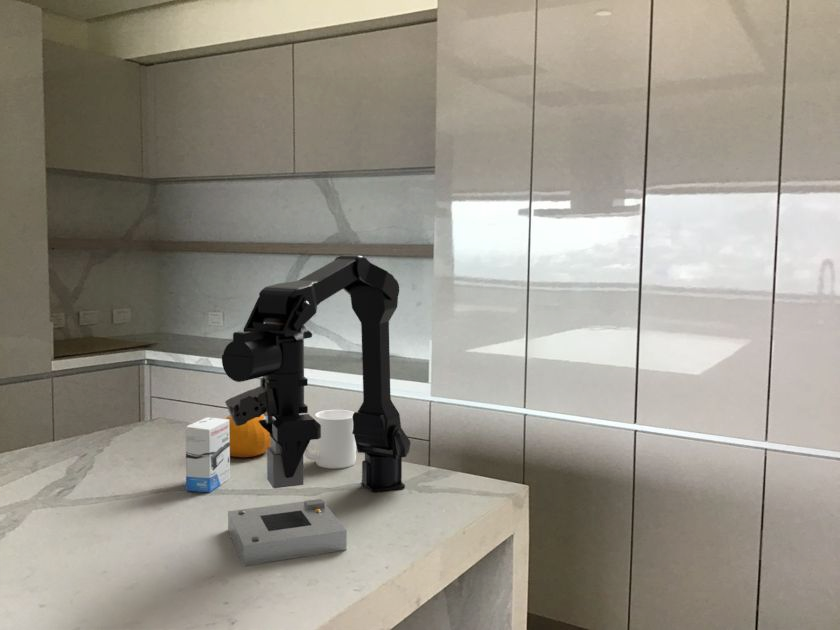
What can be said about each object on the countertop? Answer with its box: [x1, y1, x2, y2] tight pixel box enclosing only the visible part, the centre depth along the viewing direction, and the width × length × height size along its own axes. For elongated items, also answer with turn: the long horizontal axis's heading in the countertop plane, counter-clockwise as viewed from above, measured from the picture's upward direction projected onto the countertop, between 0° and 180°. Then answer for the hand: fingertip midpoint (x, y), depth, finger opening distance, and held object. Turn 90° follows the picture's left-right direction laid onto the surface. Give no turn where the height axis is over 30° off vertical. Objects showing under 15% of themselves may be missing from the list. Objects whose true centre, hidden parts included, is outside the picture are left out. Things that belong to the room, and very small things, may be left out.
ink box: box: [184, 416, 231, 493], centre depth 138 cm, size 8×5×12 cm, turn 168°
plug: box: [266, 436, 304, 489], centre depth 113 cm, size 4×4×7 cm
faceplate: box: [227, 498, 348, 567], centre depth 114 cm, size 15×14×4 cm
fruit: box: [225, 414, 271, 458], centre depth 158 cm, size 12×12×10 cm
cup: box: [303, 409, 357, 470], centre depth 151 cm, size 8×12×10 cm
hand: (285, 472), depth 113 cm, fingers closed on plug, 4 cm apart
